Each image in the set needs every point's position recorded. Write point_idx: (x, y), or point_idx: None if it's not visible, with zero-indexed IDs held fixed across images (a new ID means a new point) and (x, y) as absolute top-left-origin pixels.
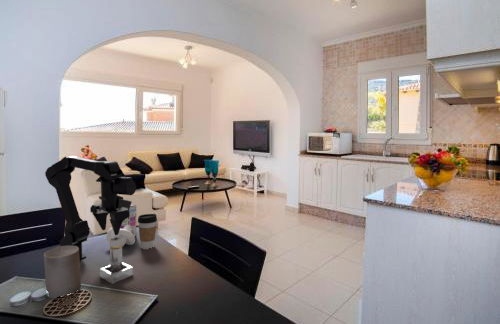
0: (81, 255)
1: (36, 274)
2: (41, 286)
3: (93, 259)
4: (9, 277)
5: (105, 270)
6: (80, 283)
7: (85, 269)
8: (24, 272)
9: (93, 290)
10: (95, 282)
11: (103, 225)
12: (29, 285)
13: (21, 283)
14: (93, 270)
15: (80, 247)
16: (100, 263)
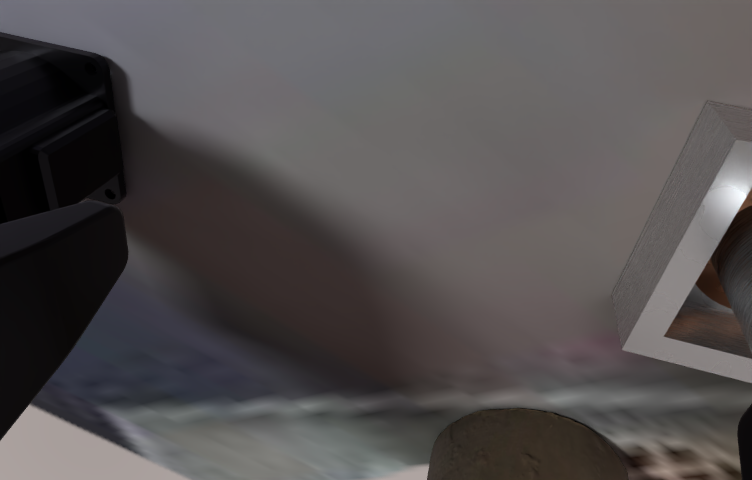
0: (100, 126)
1: (166, 378)
2: (350, 458)
3: (207, 51)
4: (104, 427)
5: (713, 361)
6: (614, 474)
7: (360, 236)
8: (87, 377)
9: (727, 439)
10: (647, 363)
11: (25, 330)
12: (283, 461)
13: (225, 454)
14: (442, 227)
15: (23, 161)
16: (362, 91)
